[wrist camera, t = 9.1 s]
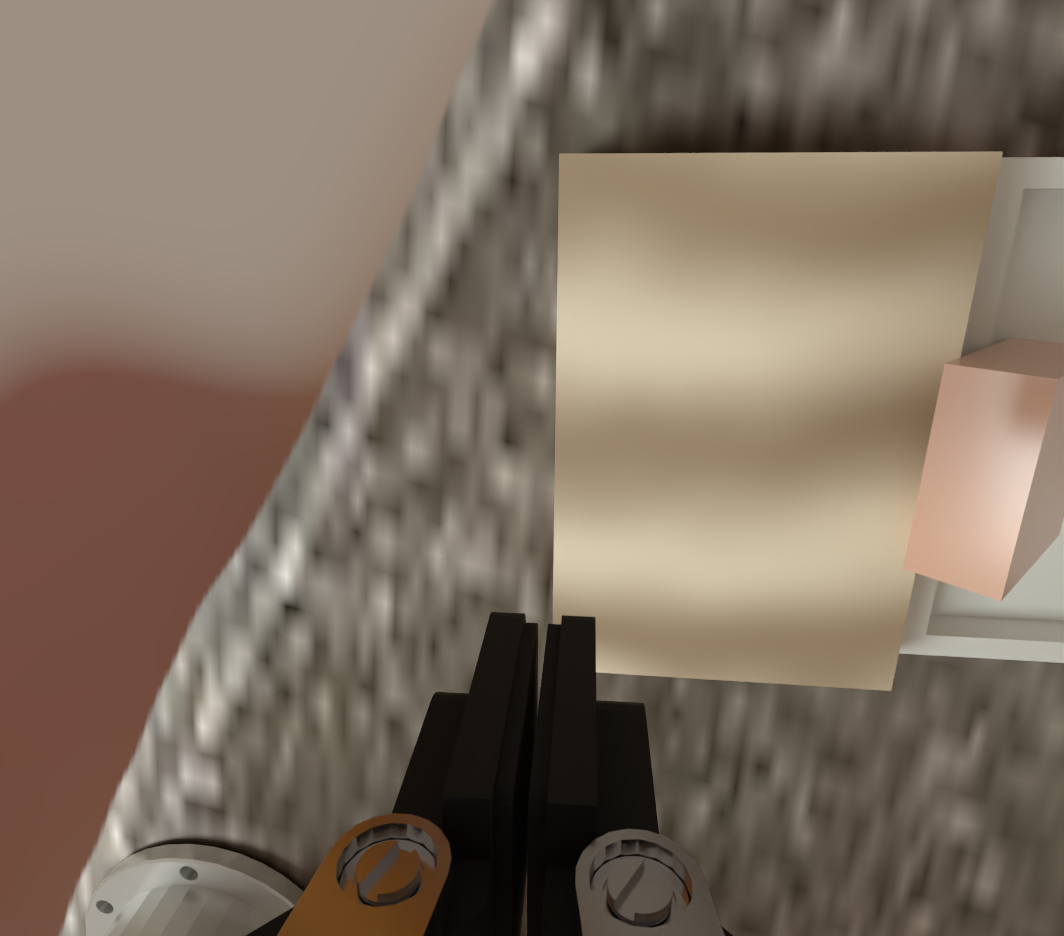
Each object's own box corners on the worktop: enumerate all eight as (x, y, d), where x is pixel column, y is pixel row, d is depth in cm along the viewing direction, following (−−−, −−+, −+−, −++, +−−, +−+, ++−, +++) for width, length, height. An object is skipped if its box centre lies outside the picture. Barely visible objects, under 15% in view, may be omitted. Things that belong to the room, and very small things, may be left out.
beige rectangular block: (851, 623, 27) (891, 690, 23) (559, 607, 28) (552, 669, 24) (934, 161, 21) (1003, 151, 18) (567, 162, 22) (559, 153, 19)
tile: (972, 512, 25) (1058, 535, 23) (902, 568, 21) (1000, 601, 19) (1012, 337, 23) (1111, 348, 21) (944, 363, 19) (1058, 379, 17)
